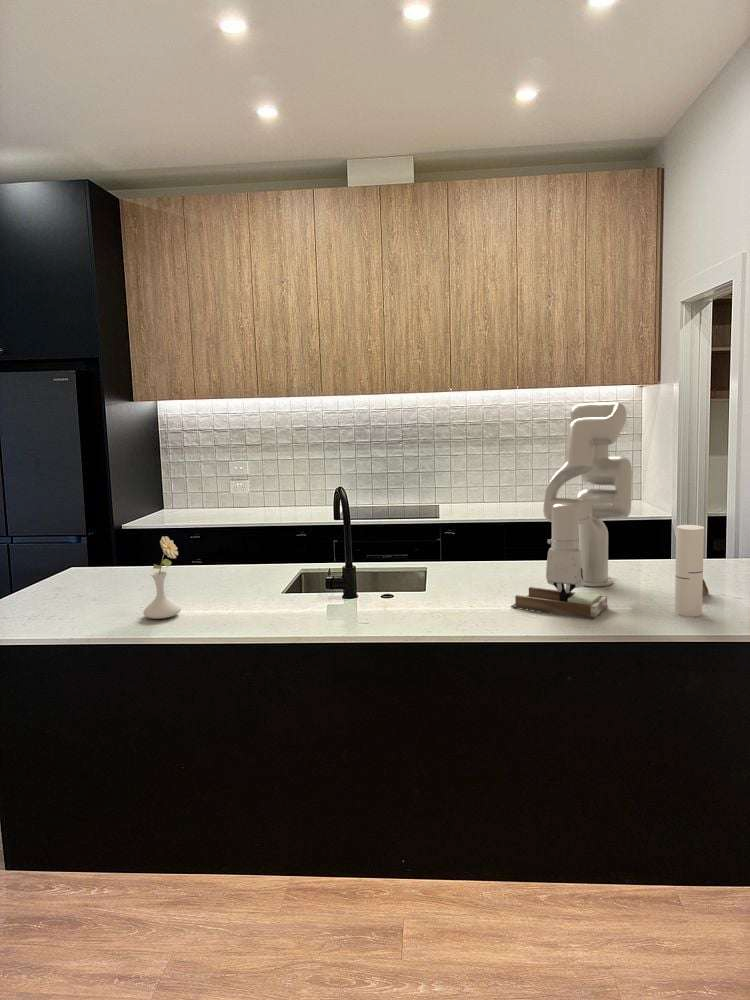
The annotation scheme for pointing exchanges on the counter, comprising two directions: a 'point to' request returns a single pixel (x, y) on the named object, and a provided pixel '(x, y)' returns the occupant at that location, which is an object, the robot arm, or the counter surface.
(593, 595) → the sage block
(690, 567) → the cylindrical container
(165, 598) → the flower in vase
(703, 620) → the counter surface
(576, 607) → the brown wooden tray
